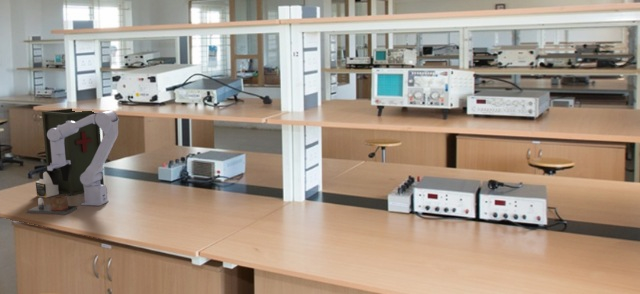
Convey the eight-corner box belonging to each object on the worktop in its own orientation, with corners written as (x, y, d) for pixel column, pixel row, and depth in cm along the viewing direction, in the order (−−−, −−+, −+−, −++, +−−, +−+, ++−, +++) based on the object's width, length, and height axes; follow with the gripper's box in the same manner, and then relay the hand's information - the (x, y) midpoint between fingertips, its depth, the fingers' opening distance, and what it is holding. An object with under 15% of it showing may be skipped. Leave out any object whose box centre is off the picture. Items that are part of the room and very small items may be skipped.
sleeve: (68, 207, 249) (67, 196, 248) (61, 210, 244) (60, 199, 243) (57, 206, 250) (56, 195, 249) (50, 209, 245) (49, 198, 244)
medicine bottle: (36, 196, 272) (34, 171, 270) (49, 192, 279) (47, 169, 277) (46, 197, 269) (44, 173, 267) (59, 194, 275) (57, 170, 273)
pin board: (77, 208, 250) (76, 196, 249) (65, 214, 242) (64, 201, 241) (40, 207, 253) (39, 194, 252) (27, 212, 245) (26, 199, 244)
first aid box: (71, 195, 273) (65, 113, 266) (48, 190, 282) (41, 111, 276) (104, 187, 288) (98, 110, 282) (81, 183, 298) (75, 108, 291)
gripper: (59, 150, 265) (62, 178, 267) (40, 156, 250) (42, 186, 253) (73, 151, 263) (76, 179, 266) (54, 156, 249) (57, 186, 252)
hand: (60, 182), depth 259 cm, fingers open, 7 cm apart
